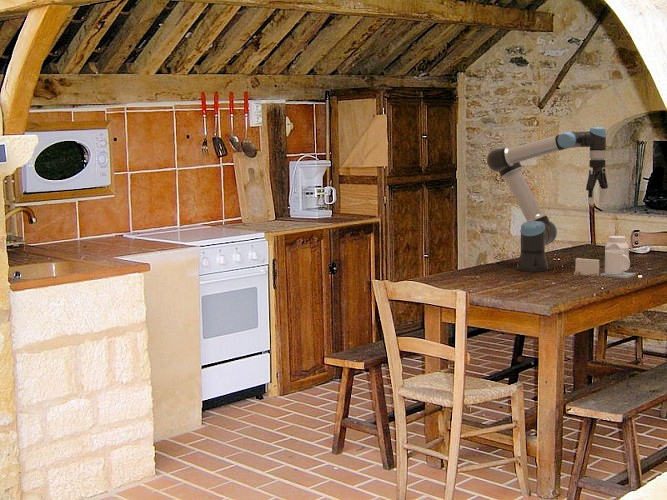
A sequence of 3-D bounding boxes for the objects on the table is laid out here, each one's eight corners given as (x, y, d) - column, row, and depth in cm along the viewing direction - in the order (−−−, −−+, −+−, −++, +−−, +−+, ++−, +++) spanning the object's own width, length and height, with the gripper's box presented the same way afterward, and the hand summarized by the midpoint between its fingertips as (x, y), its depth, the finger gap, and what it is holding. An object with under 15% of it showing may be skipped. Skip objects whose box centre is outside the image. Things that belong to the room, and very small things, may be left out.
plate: (599, 276, 444) (599, 274, 444) (609, 273, 452) (609, 271, 452) (626, 278, 436) (626, 276, 435) (635, 275, 444) (635, 273, 444)
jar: (602, 267, 471) (602, 237, 469) (608, 264, 479) (609, 235, 477) (625, 268, 465) (625, 238, 463) (631, 266, 472) (631, 236, 471)
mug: (625, 276, 437) (626, 253, 435) (601, 273, 445) (601, 251, 443) (633, 273, 443) (634, 251, 441) (609, 271, 451) (610, 249, 449)
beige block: (572, 275, 448) (572, 259, 447) (577, 273, 452) (577, 258, 451) (594, 277, 442) (594, 261, 441) (599, 275, 445) (599, 259, 444)
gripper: (594, 160, 445) (593, 205, 448) (615, 158, 464) (614, 201, 467) (579, 160, 450) (578, 204, 453) (600, 158, 469) (599, 200, 472)
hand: (596, 203), depth 460 cm, fingers open, 13 cm apart
